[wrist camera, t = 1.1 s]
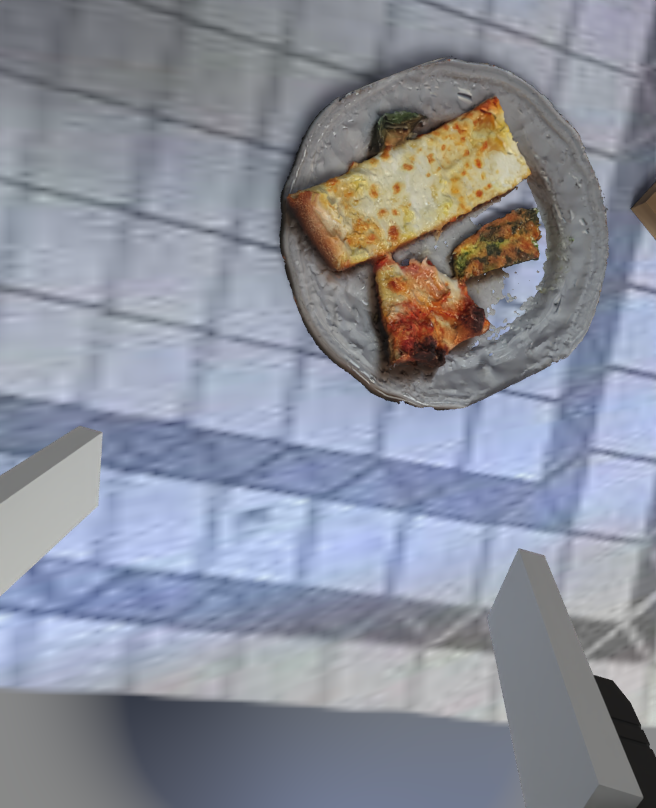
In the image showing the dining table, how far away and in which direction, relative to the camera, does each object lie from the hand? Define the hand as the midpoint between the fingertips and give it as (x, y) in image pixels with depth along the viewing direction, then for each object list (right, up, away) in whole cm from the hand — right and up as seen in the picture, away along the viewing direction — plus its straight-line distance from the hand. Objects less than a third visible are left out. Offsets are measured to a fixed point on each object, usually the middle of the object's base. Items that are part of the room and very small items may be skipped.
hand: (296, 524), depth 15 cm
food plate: (+10, +16, +22) cm, 29 cm away
